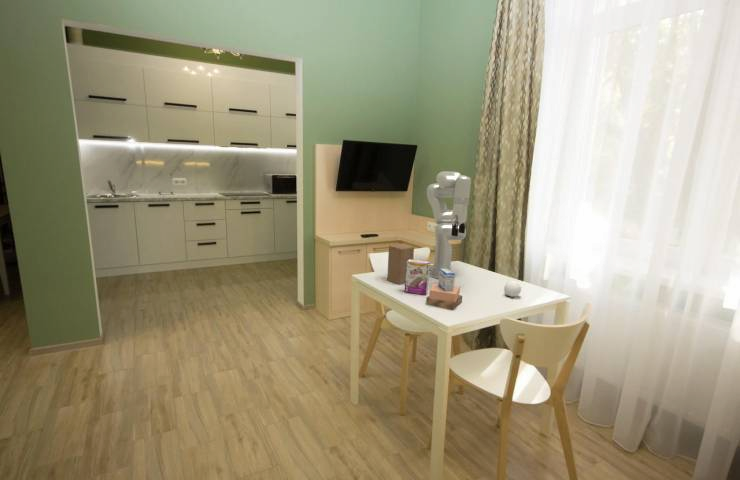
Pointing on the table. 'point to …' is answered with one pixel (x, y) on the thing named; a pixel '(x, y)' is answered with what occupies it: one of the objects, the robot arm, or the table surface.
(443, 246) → the robot arm
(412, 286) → the candy bar box
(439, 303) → the tower bottom
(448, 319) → the table surface
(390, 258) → the wooden block
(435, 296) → the tower top
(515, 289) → the ball
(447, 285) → the medicine box
